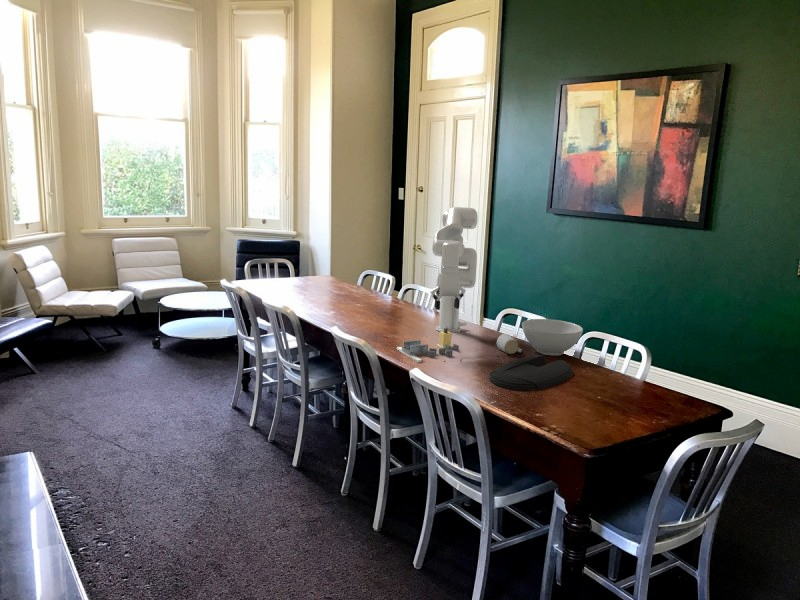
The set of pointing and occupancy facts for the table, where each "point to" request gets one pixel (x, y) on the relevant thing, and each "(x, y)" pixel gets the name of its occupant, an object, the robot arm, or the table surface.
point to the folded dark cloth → (530, 374)
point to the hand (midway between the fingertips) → (446, 308)
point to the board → (433, 352)
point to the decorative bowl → (551, 335)
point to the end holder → (414, 347)
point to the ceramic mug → (508, 344)
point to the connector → (445, 338)
